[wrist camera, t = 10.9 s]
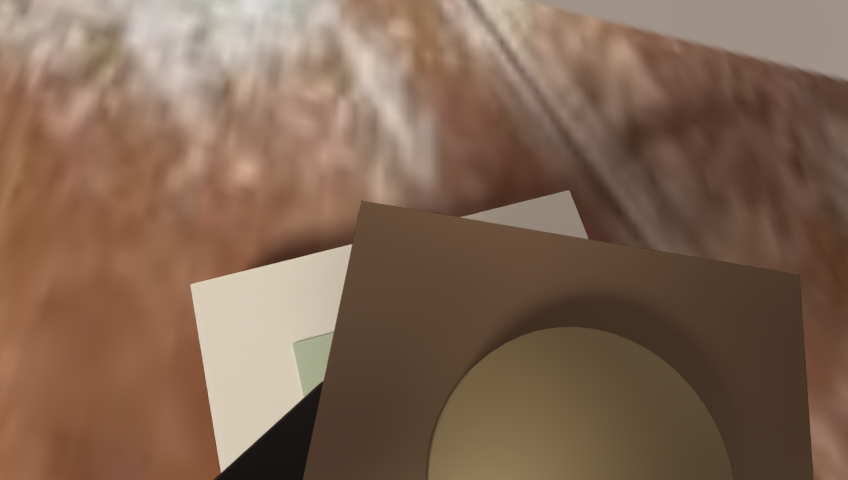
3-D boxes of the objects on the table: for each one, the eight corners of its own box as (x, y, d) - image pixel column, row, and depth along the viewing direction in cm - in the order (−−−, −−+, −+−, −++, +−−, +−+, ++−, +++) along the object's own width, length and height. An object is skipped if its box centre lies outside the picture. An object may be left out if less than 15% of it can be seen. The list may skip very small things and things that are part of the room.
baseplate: (288, 721, 15) (269, 778, 13) (215, 302, 19) (189, 283, 16) (683, 576, 17) (733, 601, 14) (548, 217, 20) (570, 188, 18)
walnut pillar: (524, 556, 14) (896, 899, 4) (344, 527, 14) (226, 792, 4) (540, 373, 15) (836, 260, 5) (377, 345, 15) (359, 178, 5)
